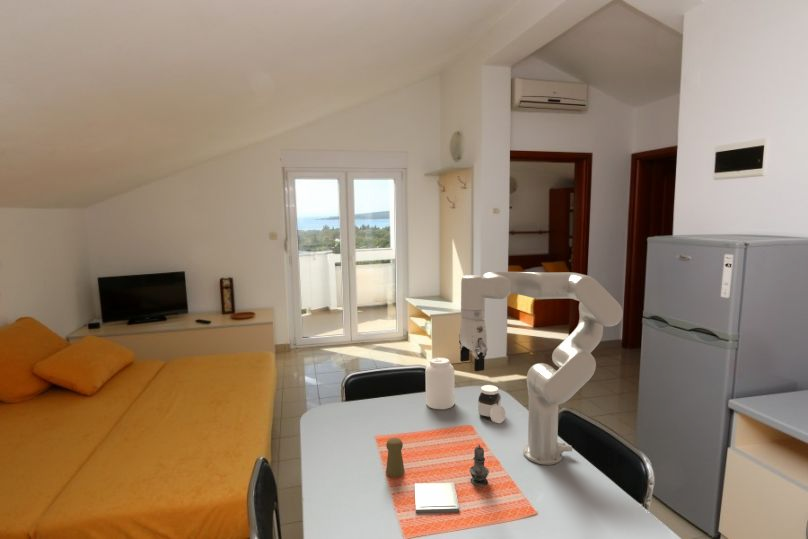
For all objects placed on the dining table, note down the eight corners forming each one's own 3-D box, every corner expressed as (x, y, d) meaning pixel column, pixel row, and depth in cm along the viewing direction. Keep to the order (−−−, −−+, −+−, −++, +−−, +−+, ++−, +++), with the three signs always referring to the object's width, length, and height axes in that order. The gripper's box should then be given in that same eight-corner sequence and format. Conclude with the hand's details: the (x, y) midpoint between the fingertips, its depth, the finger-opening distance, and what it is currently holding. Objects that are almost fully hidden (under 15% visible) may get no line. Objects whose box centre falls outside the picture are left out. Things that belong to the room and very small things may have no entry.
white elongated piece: (424, 409, 190) (423, 363, 187) (427, 397, 202) (426, 354, 199) (453, 411, 187) (453, 364, 185) (455, 398, 200) (455, 355, 197)
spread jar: (486, 408, 189) (486, 382, 188) (511, 415, 182) (512, 388, 181) (473, 419, 179) (473, 391, 178) (499, 427, 173) (499, 398, 171)
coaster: (454, 485, 136) (454, 482, 136) (459, 511, 124) (459, 507, 124) (414, 486, 136) (414, 483, 136) (416, 512, 124) (415, 509, 124)
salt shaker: (488, 488, 135) (488, 450, 133) (469, 486, 136) (468, 448, 134) (489, 476, 140) (489, 440, 139) (470, 474, 142) (470, 439, 140)
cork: (390, 479, 140) (390, 446, 139) (382, 470, 145) (381, 438, 144) (407, 474, 143) (407, 441, 141) (399, 465, 148) (398, 433, 147)
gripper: (497, 318, 136) (496, 373, 138) (470, 307, 152) (469, 356, 154) (475, 320, 133) (474, 376, 136) (450, 309, 150) (449, 358, 152)
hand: (471, 365), depth 145 cm, fingers open, 9 cm apart
